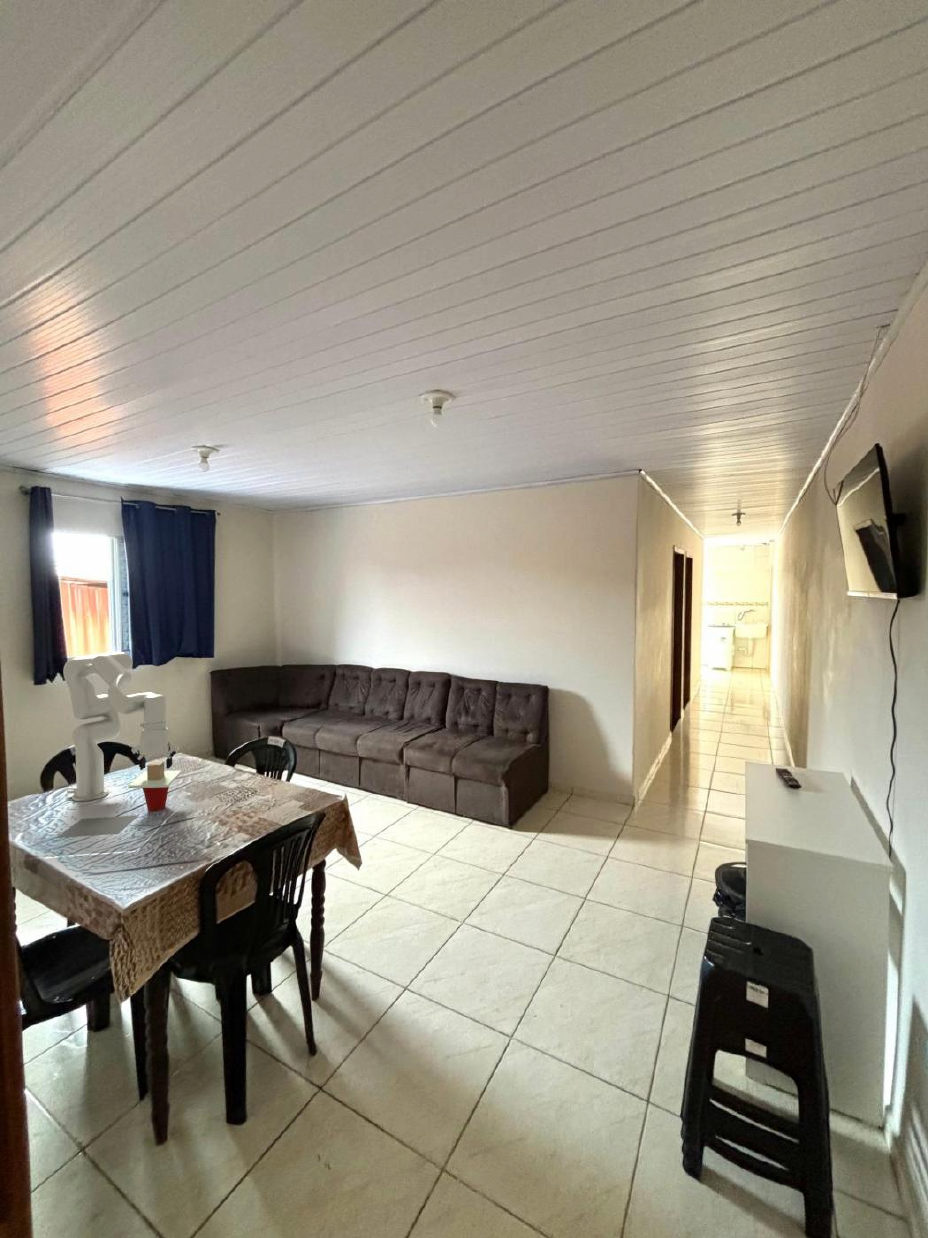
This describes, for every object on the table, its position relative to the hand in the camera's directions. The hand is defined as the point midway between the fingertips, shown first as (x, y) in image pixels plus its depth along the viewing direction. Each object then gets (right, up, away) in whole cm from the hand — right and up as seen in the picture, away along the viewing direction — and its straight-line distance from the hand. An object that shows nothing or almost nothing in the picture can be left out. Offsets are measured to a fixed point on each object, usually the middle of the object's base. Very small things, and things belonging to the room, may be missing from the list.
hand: (155, 768), depth 205 cm
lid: (0, -5, 0) cm, 5 cm away
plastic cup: (0, -17, +1) cm, 17 cm away
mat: (-12, -17, -16) cm, 26 cm away
